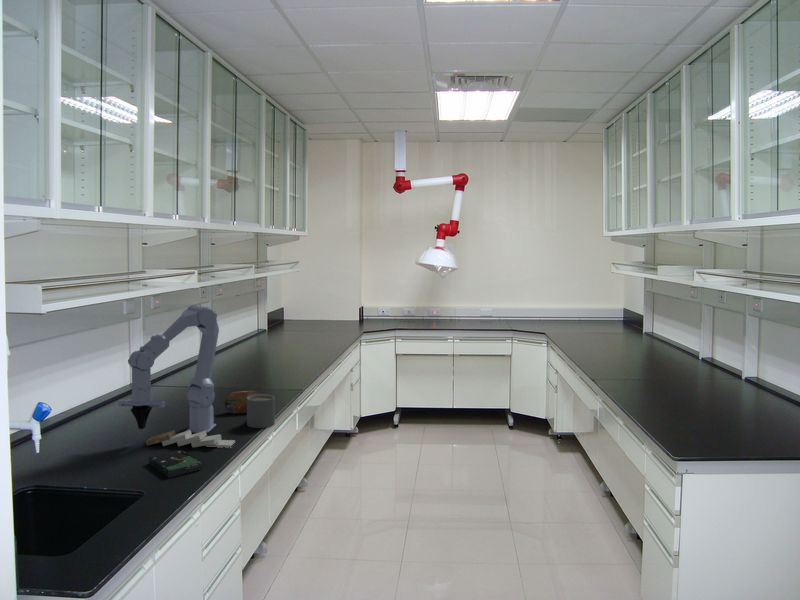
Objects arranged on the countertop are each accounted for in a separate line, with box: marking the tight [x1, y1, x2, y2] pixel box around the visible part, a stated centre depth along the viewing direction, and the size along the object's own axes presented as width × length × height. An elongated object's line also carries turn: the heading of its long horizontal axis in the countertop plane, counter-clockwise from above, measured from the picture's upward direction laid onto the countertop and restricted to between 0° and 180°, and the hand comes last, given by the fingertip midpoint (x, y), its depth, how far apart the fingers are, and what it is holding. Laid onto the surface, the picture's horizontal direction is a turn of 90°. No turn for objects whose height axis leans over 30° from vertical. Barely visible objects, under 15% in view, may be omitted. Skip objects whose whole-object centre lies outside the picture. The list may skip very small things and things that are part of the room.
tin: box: [223, 390, 262, 415], centre depth 241 cm, size 15×3×8 cm, turn 111°
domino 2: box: [176, 431, 208, 448], centre depth 201 cm, size 2×5×8 cm
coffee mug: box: [246, 393, 276, 429], centre depth 227 cm, size 13×10×10 cm
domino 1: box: [161, 430, 193, 447], centre depth 201 cm, size 2×5×8 cm
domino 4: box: [205, 439, 236, 449], centre depth 201 cm, size 2×5×8 cm
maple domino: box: [145, 429, 177, 446], centre depth 201 cm, size 2×5×8 cm
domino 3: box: [190, 434, 223, 448], centre depth 200 cm, size 2×5×8 cm
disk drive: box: [148, 449, 203, 479], centre depth 182 cm, size 10×3×15 cm
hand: (142, 428), depth 201 cm, fingers closed
